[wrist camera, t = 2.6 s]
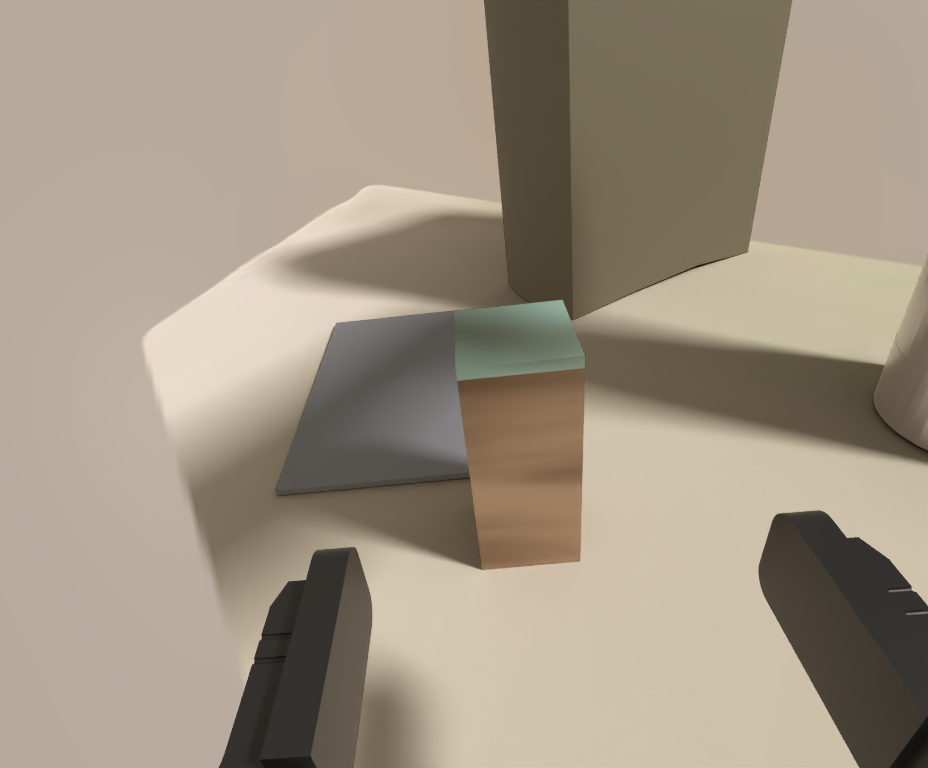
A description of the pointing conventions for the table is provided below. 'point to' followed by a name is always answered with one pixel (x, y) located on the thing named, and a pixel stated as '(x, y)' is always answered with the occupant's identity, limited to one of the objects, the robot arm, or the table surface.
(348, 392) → the rubber mat
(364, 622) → the robot arm
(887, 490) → the table surface
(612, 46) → the book
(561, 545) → the walnut block
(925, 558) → the table surface
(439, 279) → the table surface
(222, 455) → the table surface
